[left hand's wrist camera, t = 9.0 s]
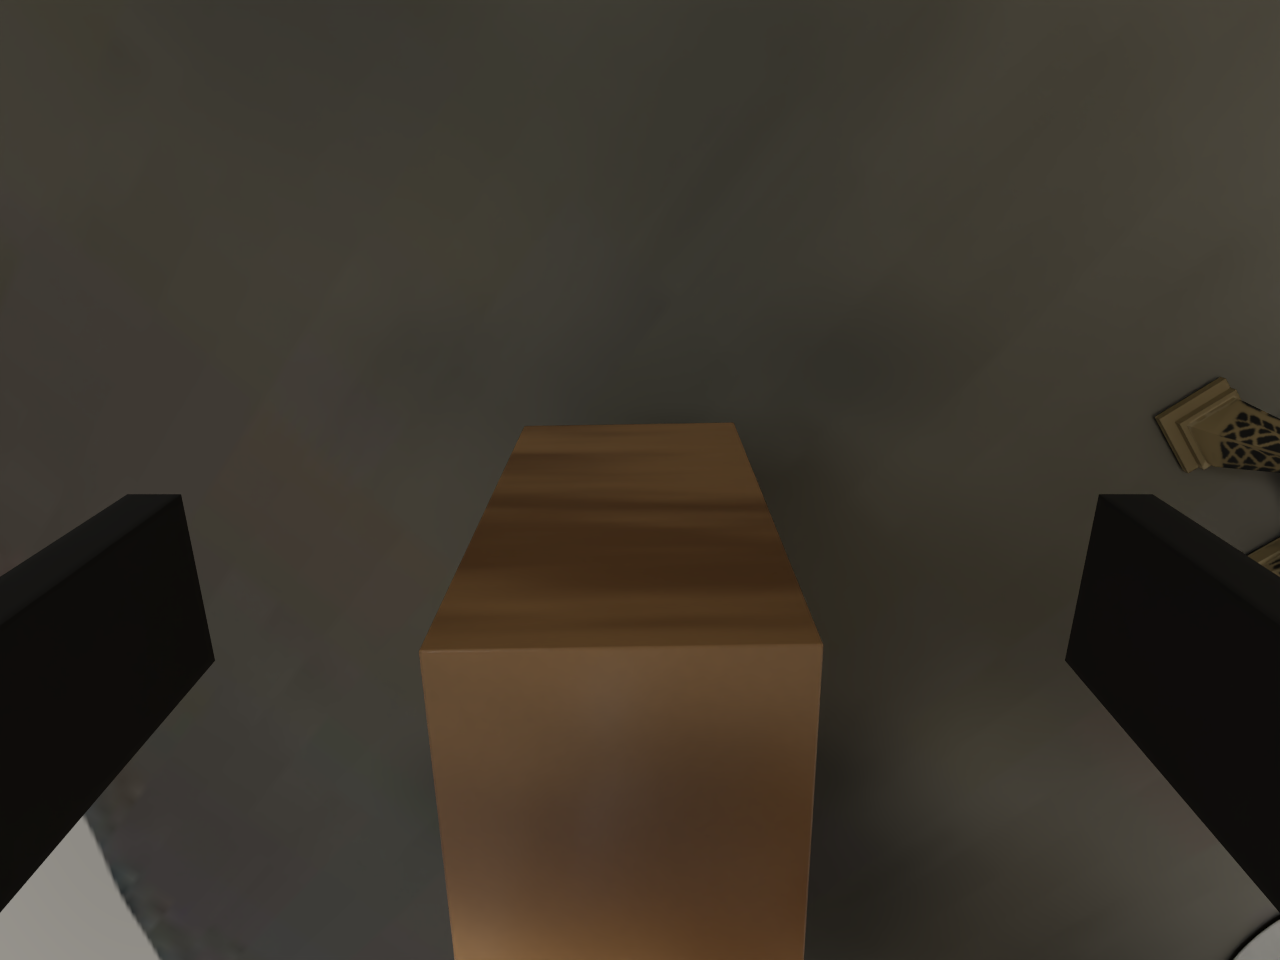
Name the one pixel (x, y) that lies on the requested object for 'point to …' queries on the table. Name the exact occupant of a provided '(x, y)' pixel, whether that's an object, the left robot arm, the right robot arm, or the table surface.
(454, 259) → the table surface
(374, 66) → the table surface
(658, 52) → the table surface
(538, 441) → the box
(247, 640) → the table surface
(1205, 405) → the eiffel tower
